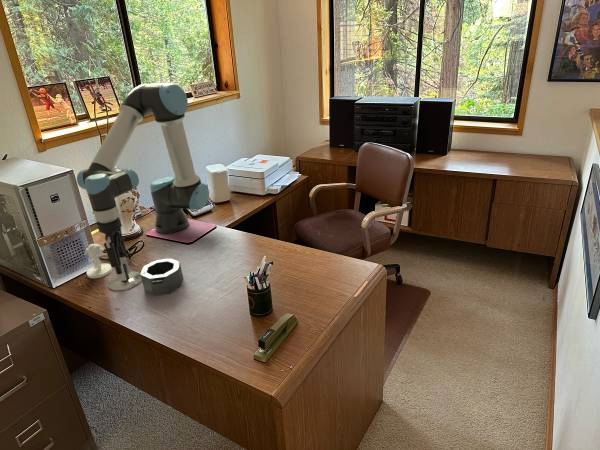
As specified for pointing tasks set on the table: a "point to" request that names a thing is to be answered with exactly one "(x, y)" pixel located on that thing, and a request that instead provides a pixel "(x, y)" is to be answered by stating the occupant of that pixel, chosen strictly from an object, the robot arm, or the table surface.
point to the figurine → (97, 262)
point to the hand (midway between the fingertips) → (124, 276)
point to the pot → (162, 277)
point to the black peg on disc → (131, 281)
